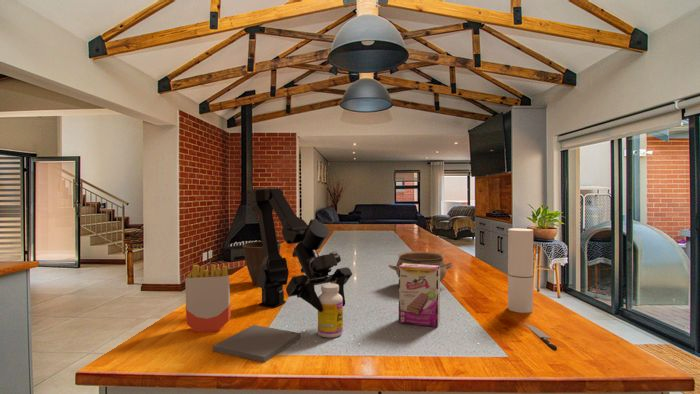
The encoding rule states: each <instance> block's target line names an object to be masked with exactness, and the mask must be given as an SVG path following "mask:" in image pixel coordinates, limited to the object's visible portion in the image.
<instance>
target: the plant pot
mask: <svg viewBox="0 0 700 394" xmlns="http://www.w3.org/2000/svg"><path fill="white" fill-rule="evenodd" d="M277 243H278V249H279V254H280V253H281V244H282V243H281V242H280V241H277ZM242 248H243V250H242V251H243V254H244V255H243V256H244V260H245V263H246V267H247V271H248V274H249V276H250V279H251V281H252V285H254V286H258V285H257V278H258V277H259V275H260V273H261V265H262V262H263V260H264V250H263V244H262V240H261V241H252V242H246V243H244V244H242ZM280 255H281V254H280Z"/></svg>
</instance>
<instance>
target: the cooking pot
mask: <svg viewBox="0 0 700 394" xmlns="http://www.w3.org/2000/svg"><path fill="white" fill-rule="evenodd" d="M397 257H398V259H397V262H396V265H392V264H389V265H388V267H389V269H392V270H393V271H395V272H396V274H397V275H396V276H397V277H398V278H399V266H400V265H401V264H402V263H408V264H422V265H436V266H440V282H442V281H443V280H444V278H445V277H446V274H447V270H448V269H450V268H452V267H453V263H452V262H448V263H445V261H444V259H443V258H444V257H445V255H444V254H442V253H438V252H433V251H418V250H417V251H405V252H400V253H398V254H397Z"/></svg>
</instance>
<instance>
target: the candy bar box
mask: <svg viewBox="0 0 700 394" xmlns="http://www.w3.org/2000/svg"><path fill="white" fill-rule="evenodd" d="M440 303H441V281H440V266H436V265H422V264H408V263H402V264H401V265H400V266H399V277H398V323H399V324H406V325H413V326H414V325H415V326H422V327H423V326H424V327H431V328H438V326H439V324H440V322H441V321H440V320H441V319H440V318H441V316H440V315H441V313H440V312H441V308H440V307H441V306H440V305H441V304H440Z"/></svg>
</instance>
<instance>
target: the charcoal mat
mask: <svg viewBox="0 0 700 394" xmlns="http://www.w3.org/2000/svg"><path fill="white" fill-rule="evenodd" d="M299 339H301V332H297V331H291V330H284V329H280V328H279V329H278V328H274V327H270V326H269V327H268V326H263V325H256V324H252V325H251V326H248V327H246V328H244V329H243V330H241V331H239V332H237V333H235V334H233V335H231V336H229V337H227V338H225V339H224V340H221V341H220V342H217V343H216V344H214V345H212V351H213V352H218V353H221V354H225V355H231V356H235V357H240V358H243V359H249V360H253V361H256V362H257V361H258V362H262V363H265V362H267V361H269V360H270V359H271V358H273V357H274V356H276V355H277V354H278V353H280V352H282V351H284V350H285V349H286V348H287V347H289V346H290V345H292V344H293V343H294V342H296V341H298V340H299Z"/></svg>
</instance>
